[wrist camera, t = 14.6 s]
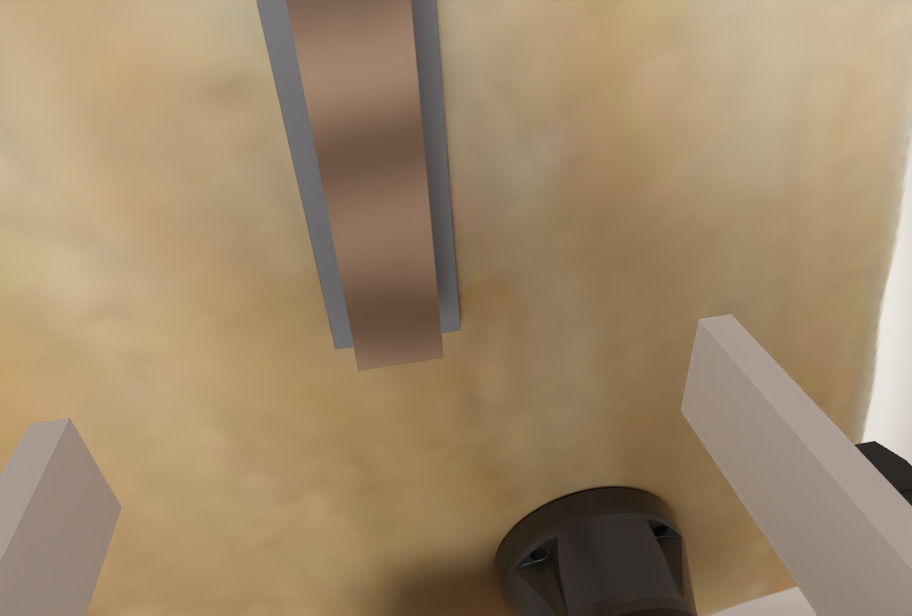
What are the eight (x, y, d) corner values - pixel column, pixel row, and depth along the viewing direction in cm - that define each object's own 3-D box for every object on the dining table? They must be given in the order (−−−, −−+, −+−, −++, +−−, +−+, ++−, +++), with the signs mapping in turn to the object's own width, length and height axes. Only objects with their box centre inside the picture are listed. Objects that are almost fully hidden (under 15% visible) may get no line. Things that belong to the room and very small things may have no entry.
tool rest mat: (457, 319, 36) (460, 330, 35) (335, 338, 35) (335, 349, 34) (414, -228, 22) (418, -232, 21) (211, -215, 21) (206, -219, 20)
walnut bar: (429, 299, 33) (443, 357, 29) (354, 310, 33) (358, 370, 29) (382, -168, 22) (394, -179, 18) (266, -161, 21) (252, -170, 17)
